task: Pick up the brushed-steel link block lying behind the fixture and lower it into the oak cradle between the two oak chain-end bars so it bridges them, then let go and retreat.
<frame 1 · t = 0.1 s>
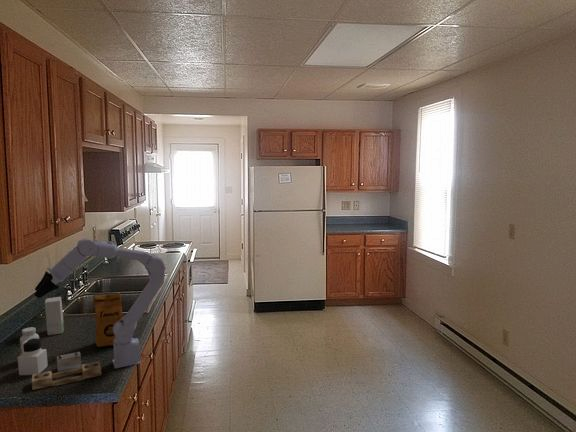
hand: (36, 293, 157), 32 cm above the countertop, tool tilted 50°, fingers open, 7 cm apart
chain ends: (67, 378, 161), on the countertop
coffee package: (111, 344, 193), on the countertop
medicine bottle: (33, 371, 168), on the countertop
skincare box: (55, 332, 207), on the countertop
master link: (69, 368, 170), on the countertop
supplement bottle: (31, 360, 177), on the countertop
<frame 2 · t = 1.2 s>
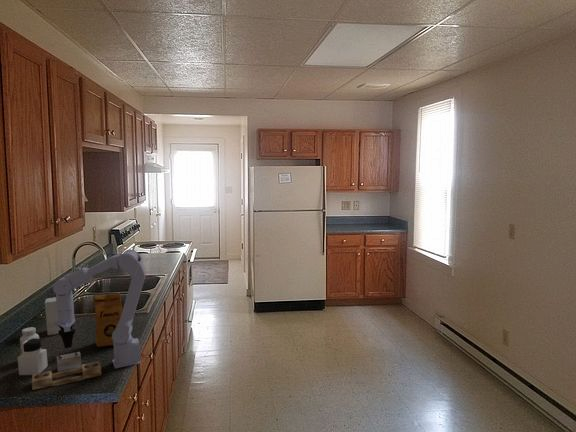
hand: (67, 344, 169), 9 cm above the countertop, tool pointing down, fingers open, 7 cm apart
nothing on the countertop moved.
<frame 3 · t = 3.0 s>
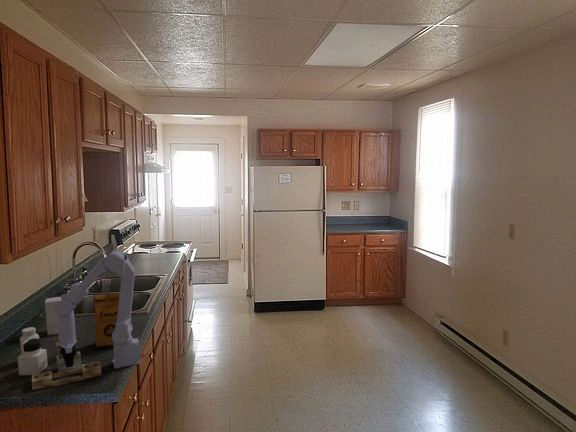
hand: (69, 364, 170), 1 cm above the countertop, tool pointing down, fingers closed on master link, 4 cm apart
master link: (69, 367, 170), on the countertop, touching gripper
everything else where it was.
when the fingers open (3 cm above the countertop, at t = 6.0 s): master link stays where it is, resting in chain ends.
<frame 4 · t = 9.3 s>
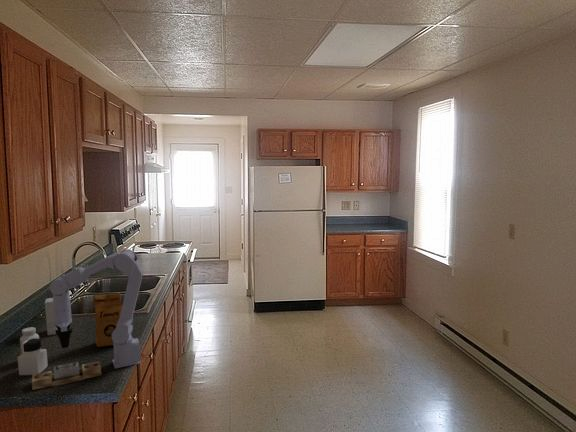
hand: (64, 343, 169), 9 cm above the countertop, tool pointing down, fingers open, 7 cm apart
master link: (67, 379, 161), resting in chain ends
everything else where it was.
at the end: master link 0.2 cm off-centre on the chain ends, point 0.0 cm above the chain ends's base; master link tilted 0°; the gripper is holding nothing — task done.
